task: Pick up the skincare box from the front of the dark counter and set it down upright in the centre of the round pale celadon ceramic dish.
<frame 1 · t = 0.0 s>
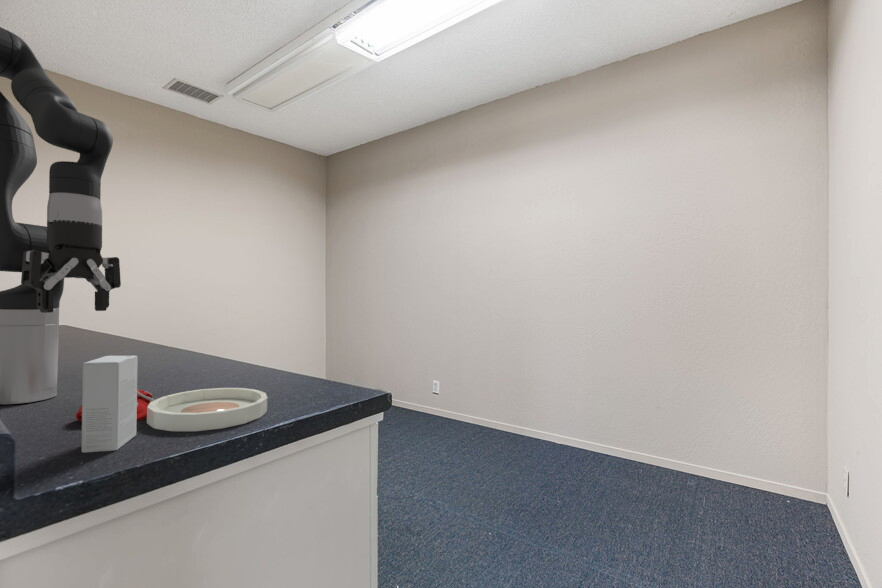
hand: (75, 311, 75), 17 cm above the counter, tool pointing down, fingers open, 8 cm apart
round dish: (210, 414, 73), on the counter
tracker holder: (126, 418, 71), on the counter
skincare box: (109, 445, 58), on the counter
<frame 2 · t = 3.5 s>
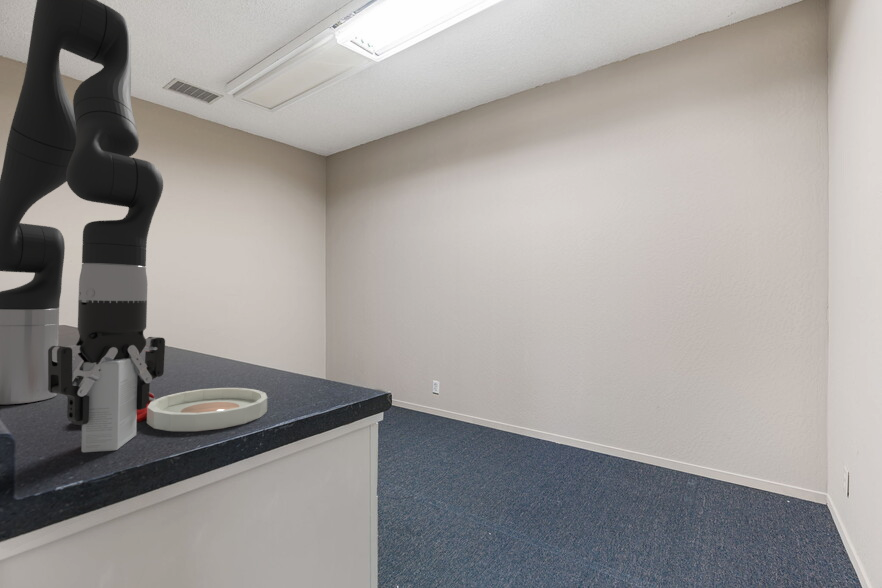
hand: (110, 415, 58), 4 cm above the counter, tool pointing down, fingers closed on skincare box, 7 cm apart
skincare box: (109, 445, 58), on the counter, touching gripper
everything else where it was.
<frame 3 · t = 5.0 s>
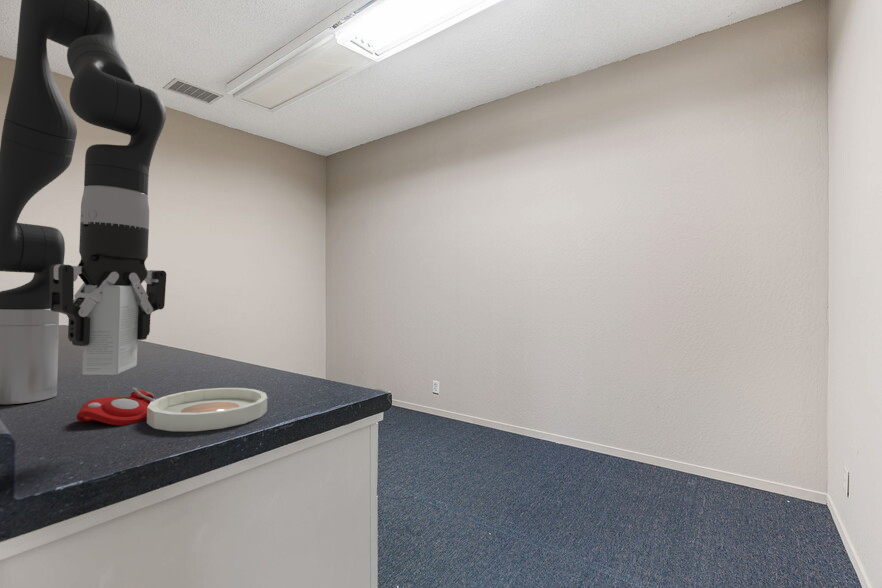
hand: (111, 342, 58), 14 cm above the counter, tool pointing down, fingers closed on skincare box, 7 cm apart
skincare box: (110, 372, 58), point 10 cm above the counter, touching gripper
everything else where it was.
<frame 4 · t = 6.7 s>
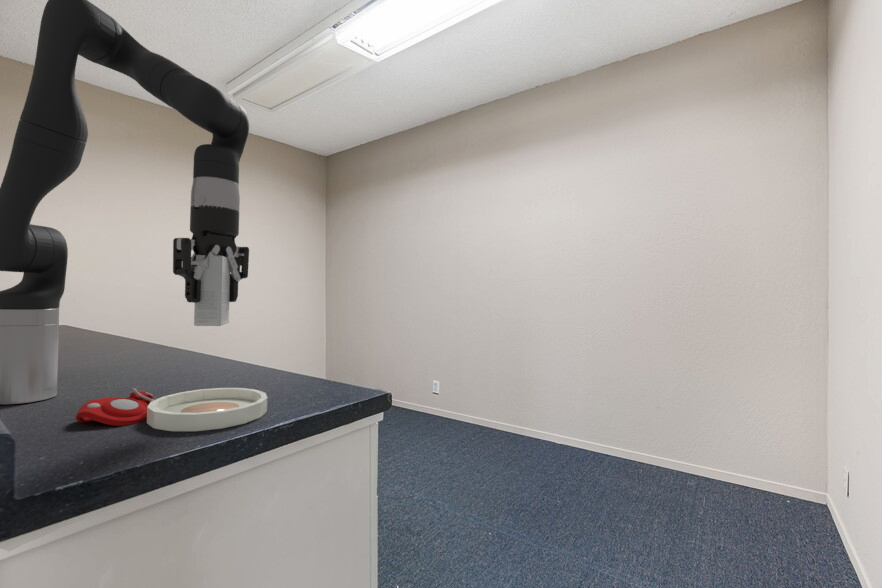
hand: (212, 301, 73), 20 cm above the counter, tool pointing down, fingers closed on skincare box, 7 cm apart
skincare box: (211, 325, 73), point 16 cm above the counter, touching gripper
everything else where it was.
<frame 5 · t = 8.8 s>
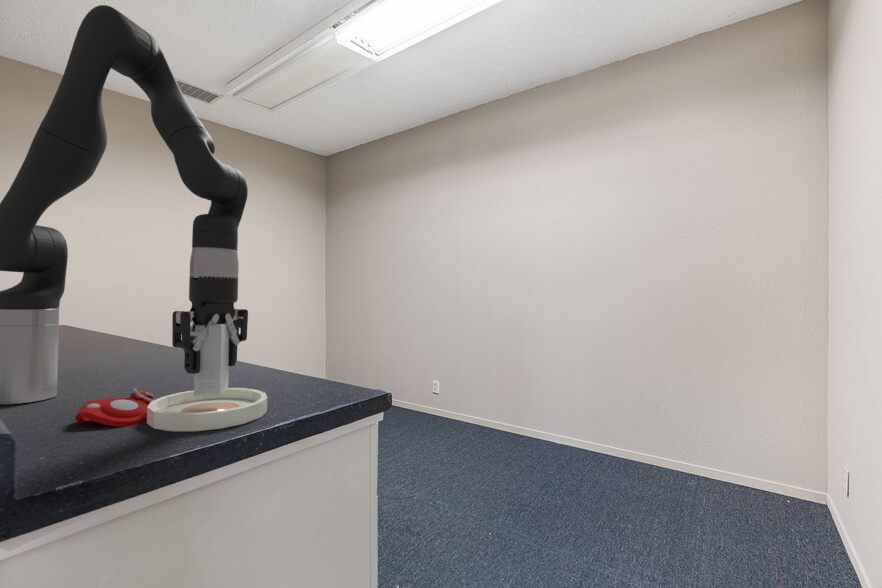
hand: (211, 369, 73), 8 cm above the counter, tool pointing down, fingers closed on skincare box, 7 cm apart
skincare box: (211, 392, 73), point 4 cm above the counter, touching gripper
when the fingers open (6 cm above the counter, at t = 10.3 s): skincare box drops 1 cm, resting on round dish.
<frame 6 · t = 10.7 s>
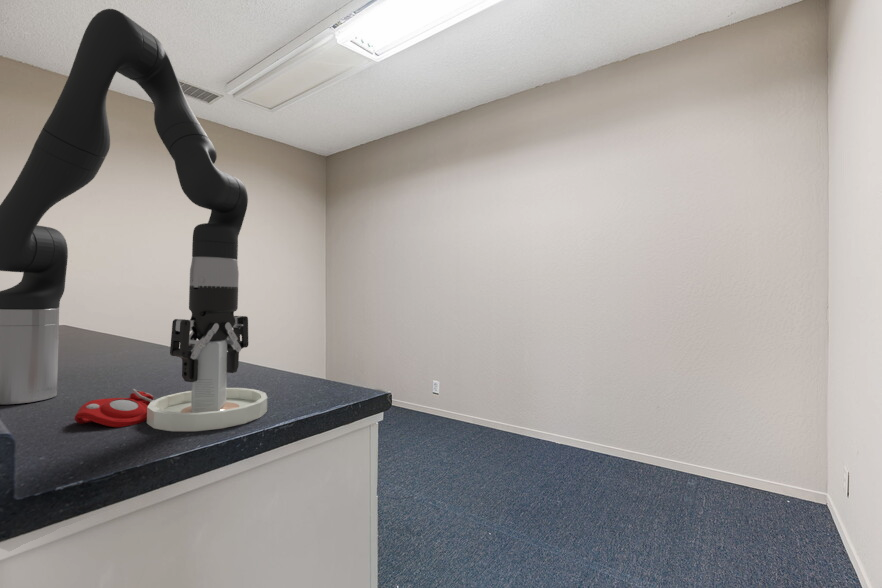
hand: (211, 376, 73), 7 cm above the counter, tool pointing down, fingers open, 8 cm apart
skincare box: (208, 410, 73), point 1 cm above the counter, touching round dish
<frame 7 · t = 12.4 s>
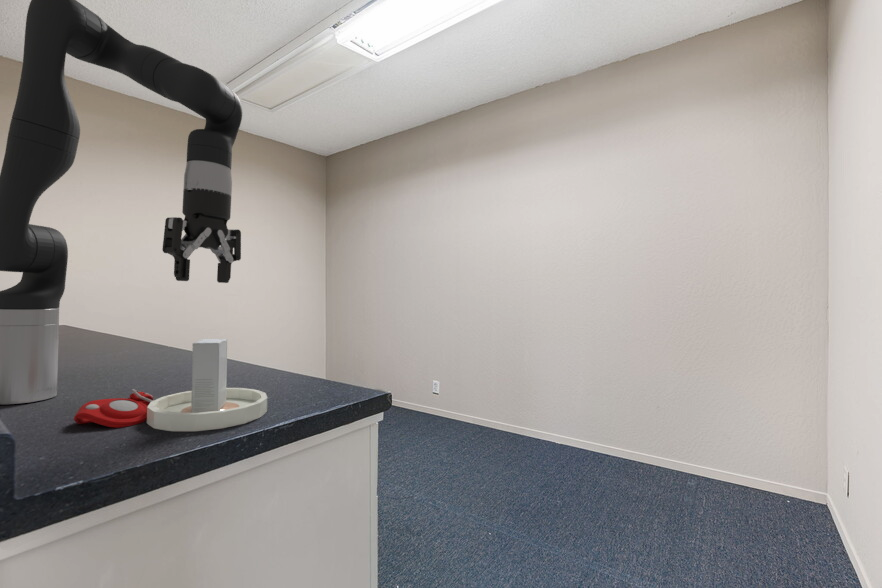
hand: (203, 281, 75), 23 cm above the counter, tool pointing down, fingers open, 8 cm apart
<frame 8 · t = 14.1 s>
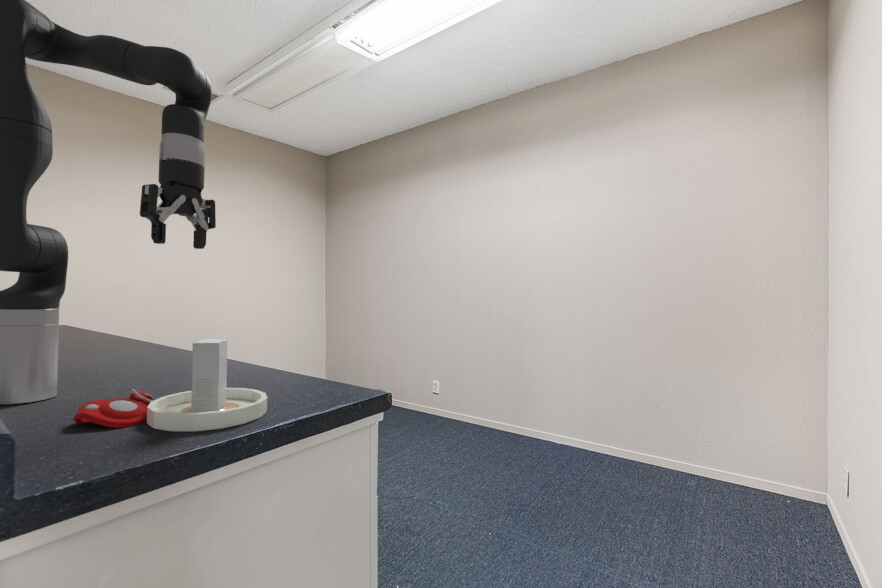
hand: (179, 246, 81), 30 cm above the counter, tool pointing down, fingers open, 8 cm apart
at the end: skincare box inside the target area on the round dish (0.3 cm from its centre), point 0.8 cm above the round dish's base; skincare box tilted 0°; the gripper is holding nothing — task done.
